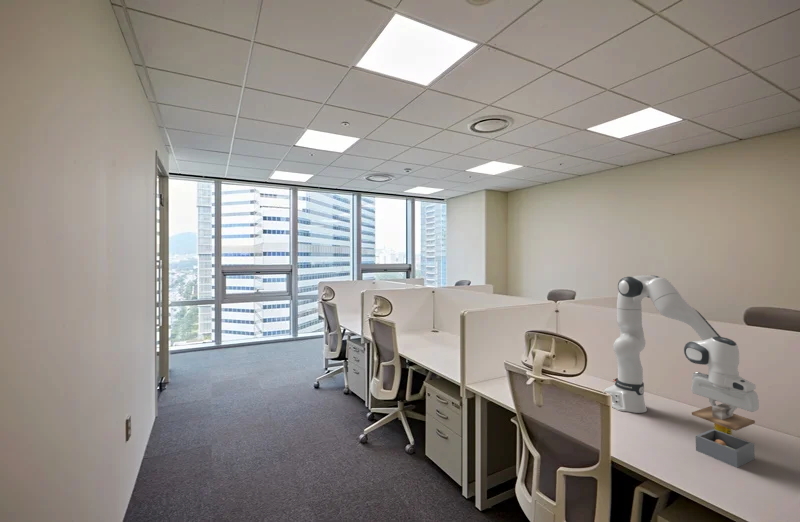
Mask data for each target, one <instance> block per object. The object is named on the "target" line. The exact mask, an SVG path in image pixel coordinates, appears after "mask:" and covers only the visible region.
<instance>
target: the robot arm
mask: <svg viewBox="0 0 800 522" xmlns="http://www.w3.org/2000/svg"><path fill="white" fill-rule="evenodd" d="M617 291H618V293H617V297H616V323H617V325H618V329H619V334H620V335H619V337H617V338H616V339H615V340H614V342H613V345H612V348H613V351H614V353H615V354H614V355H615V359H616V364H617V378H614V379H613V380H612V382H614V384H613V385H610V386H608V387H606V388H605V389H604V390H603V392H604V391H605V392H607V393H609V394H610V395H611V396H612V407H611V408H613V409H614V410H617V411H620V412H628V413H637V414H638V413H639V414H641V413H646V412H647V411H648V409H647V406H646V405H647V404H646V402H645V395H644V392H645V383H644V381H643V380H644V375H643V366H642V364H641V358H640V355H641V354H640V353H641V352H643V350H644V349H645V347H646V339H645V334H644V329H643V328H644V327H643V321H642V320H643V318H642V317H643V316H642V315H643V314H642V311H643V310H642V308H643V307H642V301H643V299H644V298H649V299H650V300H651V302H652V304H653V305H654V306H655V308H656V311H658V312H659V313H660V314H661V315H662V316H663V317H665V318H668V319H672V320H676V321H679V322H682V323H684V324H685V325H688V326H690V327H691V328H692V330H694V331H695V333H696V334H697V335H698V336H699V338H701V340H693V341H689V342H687V343H685V345H684V347H683V354H684V356H685V358H686V359H687V361H689V362H690V363H692V364H695V365H701V366H702V365H705V366H707V367H708V373H701V372H700V371H699V372H698V371H696V372H694V373H692V375H691V376H692V383H691V388H690V390H691V392H692V393H693V394H695V395H697V396H700V397H703V398H706V399H708V402H709V404H710V406H712V408H713V406H716V405H717V404H716V402H719V403H721V404H723V403H724V404H728V405H730V408H732V409H731V410H727V411H726V415H728V416H733V414H734V412H735V411H736V410H737V409H741V410H744V411H747V412H751V413H753V412H756V411H758V410H759V408H760V402H759V401H760V400H759V396H758V393H757V392H756V391H755V390H756V388H757V387H756V386H757V385H756V384H755V383H753V382H751V381H749V380H747V379H745V378H743V377H742V376H740V372H739V369H738V368H739V365H740V351H739V345H738V344H737V342H736V341H734V340H733V339H730V338H728V337H723V336H722V335H720V333H718V332H717V331H716V330H715V328H713V326H712V325H711V324H710V323H709V321H707V320H706V318H705V317H704V316H703V315H702V314H701V313H700V312H699V311H698V310H697V309H695V308H694V307H693V306H691V305H690V304H689V303H688V302H687V301H686V300H685V299H684V298H683V297H682V295H681V293H679V291H678V290H677V288H676V287H675V286H674V285H673V284H672V283H671V282H670V281H669V280H668V279H667V278H665V277H661V276H657V275H652V274H651V275H647V274H646V275H644V274H643V275H641V274H640V275H634V276H626V277H623V278H621V279H620V280H619V281H618V284H617Z"/></svg>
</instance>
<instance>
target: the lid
mask: <svg viewBox="0 0 800 522" xmlns="http://www.w3.org/2000/svg"><path fill="white" fill-rule="evenodd" d="M731 409H732V408H730V405H728V404H725V403H721V404H716V406H713V408H712V405H710V406H707V407H704V408H700V409H698V410H695V411H692V412H691V415H692V416H694V417H696V418H700V419H701V420H702V419H703V420H705V421H708V422H710V423H713V424H715V423H716V424H718V425H721V426H724V427H727V428H729V429H731V431H732V430H733V431H735V432H737V431H739V430H741V429H744V428H746V427H749V426H751V425H755V423H756V421H755V420H754V419H751V418H748V417H745V416H742V415H738V414H736V413H733V416H728V415H726V411H727V410H731Z"/></svg>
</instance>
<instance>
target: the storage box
mask: <svg viewBox="0 0 800 522" xmlns="http://www.w3.org/2000/svg"><path fill="white" fill-rule="evenodd" d="M715 440H722V441H724V442H725V443H726V445H727V446H728V447H726V446H724V445H721V444H719V443H716V442H714V441H715ZM729 447H731V448H733V449H731V448H729ZM734 449H735V450H734ZM695 451H696V452H698V453H701V454H703V455H706V456H708V457H711V458H713V459H715V460H718V461H720V462H722V463H725V464H727V465H730V466H731V467H733V468H736V469H738V468H740V467H742V466H744V465H745V464H748V463H749V462H752V461H754V460H755V455H756V454H755V443H754V442H752V441H748V440H745V439H743V438H739V437H737V436H734V435H732V434H731V435H729V434H726V433H723V432H721V431H718V430H715V428H712V429H709V430H707V431H704V432H702V433H699V434H696V435H695Z"/></svg>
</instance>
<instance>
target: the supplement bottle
mask: <svg viewBox="0 0 800 522" xmlns="http://www.w3.org/2000/svg"><path fill="white" fill-rule="evenodd" d="M714 429H715V430H718V431H721V432H723V433H726V434H729V435H732V429H729V428H727V427H724V426H721V425H718V424H716V423H714Z"/></svg>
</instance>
